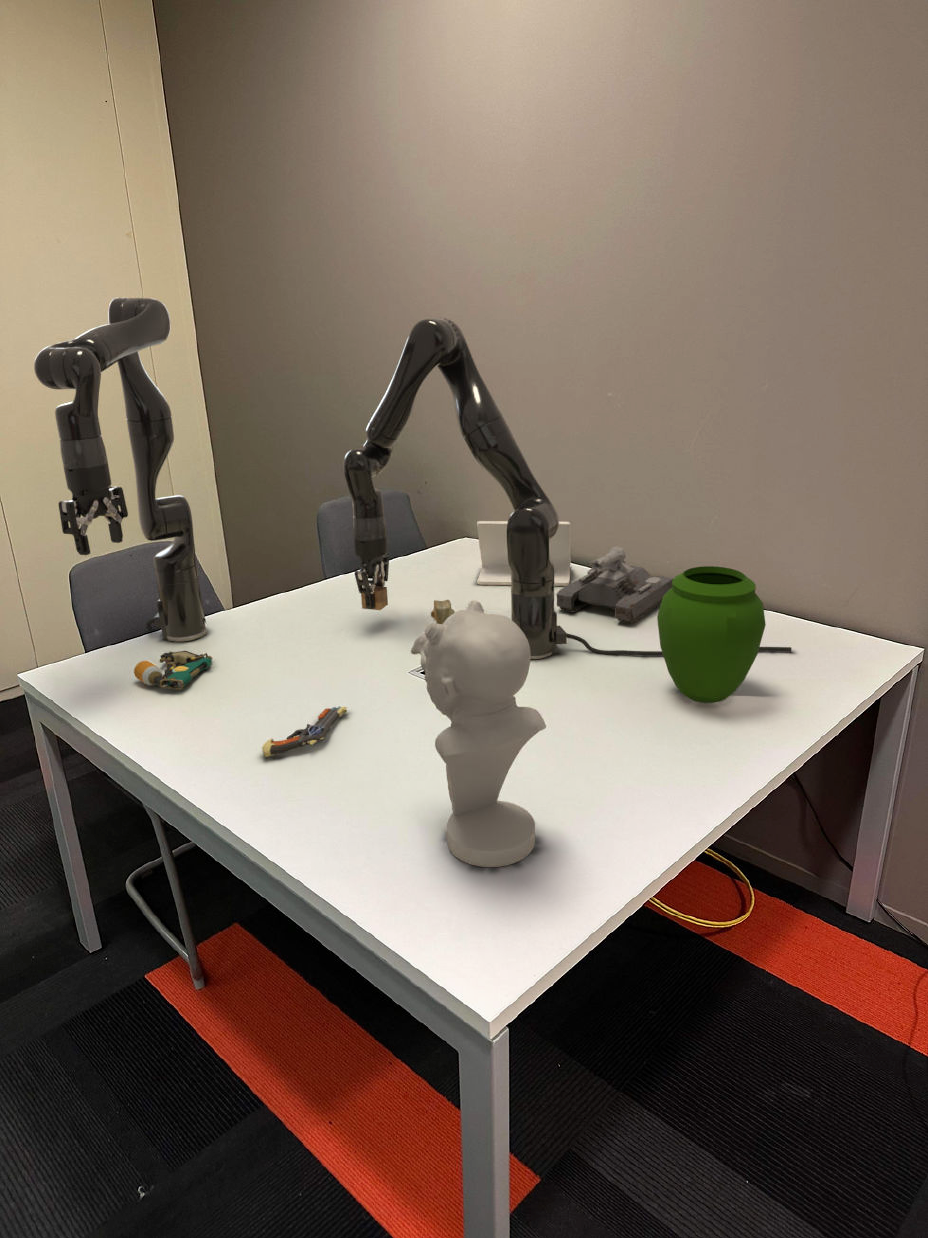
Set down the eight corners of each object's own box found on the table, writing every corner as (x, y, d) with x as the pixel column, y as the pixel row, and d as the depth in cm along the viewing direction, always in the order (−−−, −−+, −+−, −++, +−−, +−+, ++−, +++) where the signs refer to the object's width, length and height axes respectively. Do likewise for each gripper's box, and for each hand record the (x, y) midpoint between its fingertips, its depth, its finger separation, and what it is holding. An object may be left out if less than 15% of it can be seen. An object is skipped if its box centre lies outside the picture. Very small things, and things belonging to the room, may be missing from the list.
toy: (603, 584, 229) (605, 530, 224) (673, 597, 218) (677, 540, 213) (555, 612, 210) (556, 553, 205) (630, 627, 199) (633, 566, 194)
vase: (769, 686, 168) (782, 568, 159) (741, 727, 152) (753, 599, 144) (673, 667, 178) (680, 554, 169) (637, 703, 162) (643, 582, 154)
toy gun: (257, 746, 146) (311, 744, 144) (298, 704, 164) (347, 701, 161) (260, 761, 146) (314, 759, 144) (300, 717, 164) (349, 715, 162)
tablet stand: (569, 585, 229) (570, 524, 223) (476, 584, 232) (475, 523, 226) (570, 566, 246) (571, 508, 240) (484, 564, 249) (483, 507, 243)
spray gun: (177, 659, 191) (231, 671, 185) (120, 684, 176) (176, 698, 171) (176, 641, 190) (230, 653, 184) (118, 665, 175) (174, 678, 169)
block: (370, 602, 204) (368, 585, 202) (388, 604, 202) (386, 586, 201) (362, 608, 200) (360, 590, 199) (380, 610, 199) (379, 592, 197)
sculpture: (458, 662, 183) (456, 596, 178) (460, 676, 176) (457, 608, 171) (431, 663, 183) (428, 597, 177) (431, 677, 176) (428, 609, 171)
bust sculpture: (481, 772, 140) (476, 569, 128) (565, 848, 120) (569, 617, 108) (392, 800, 134) (378, 588, 121) (465, 886, 114) (457, 642, 101)
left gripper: (97, 454, 163) (112, 537, 168) (38, 468, 150) (57, 557, 156) (129, 456, 160) (142, 539, 166) (72, 470, 148) (89, 560, 153)
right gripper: (369, 525, 203) (374, 594, 209) (340, 541, 190) (347, 613, 196) (397, 527, 200) (402, 596, 206) (371, 543, 188) (376, 616, 194)
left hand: (101, 548), depth 161 cm, fingers open, 8 cm apart
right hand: (375, 604), depth 201 cm, fingers closed on block, 4 cm apart
